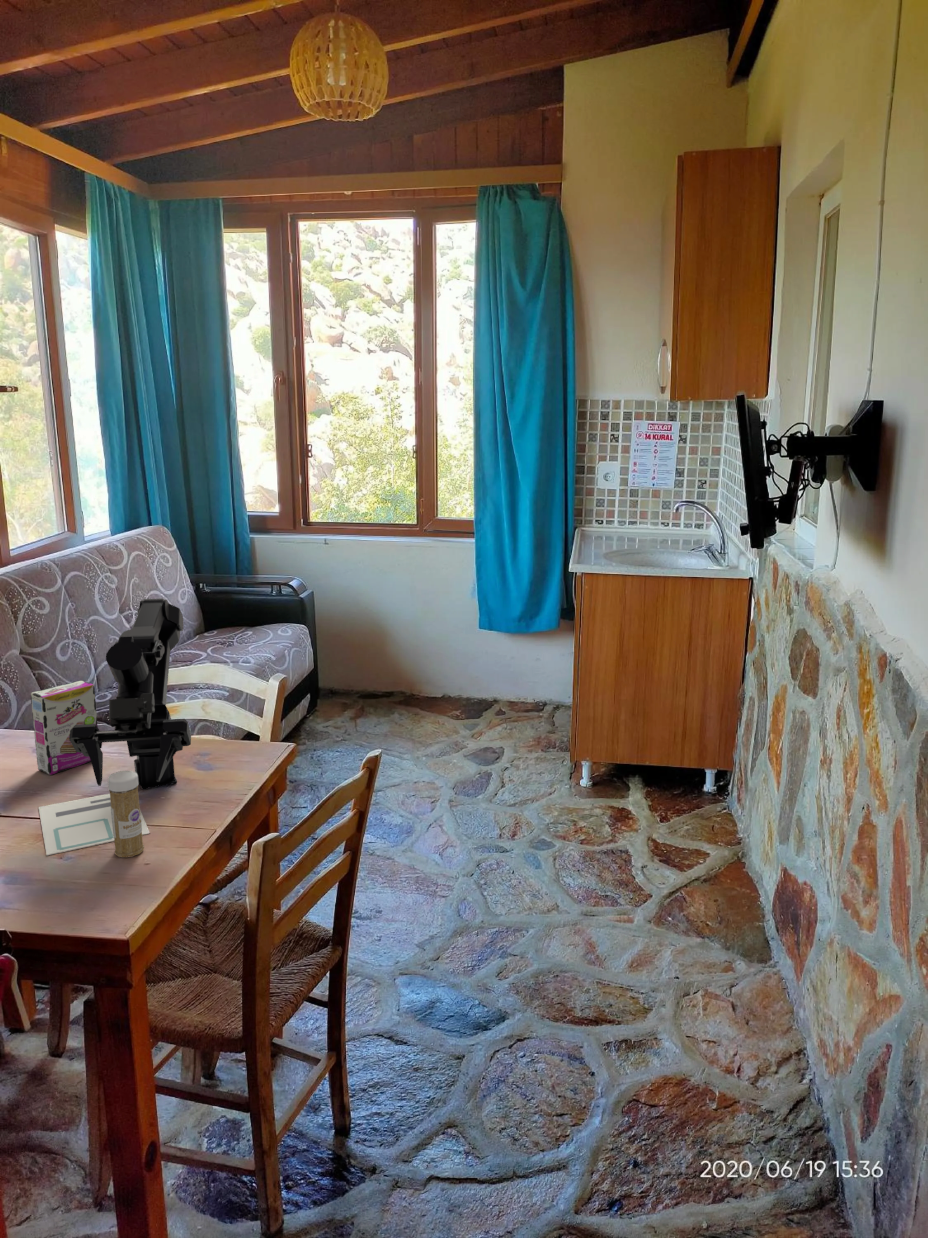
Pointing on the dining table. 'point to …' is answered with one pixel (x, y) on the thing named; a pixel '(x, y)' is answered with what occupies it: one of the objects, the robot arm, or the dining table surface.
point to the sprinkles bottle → (125, 813)
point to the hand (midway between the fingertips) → (128, 783)
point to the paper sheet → (78, 824)
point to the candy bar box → (61, 724)
